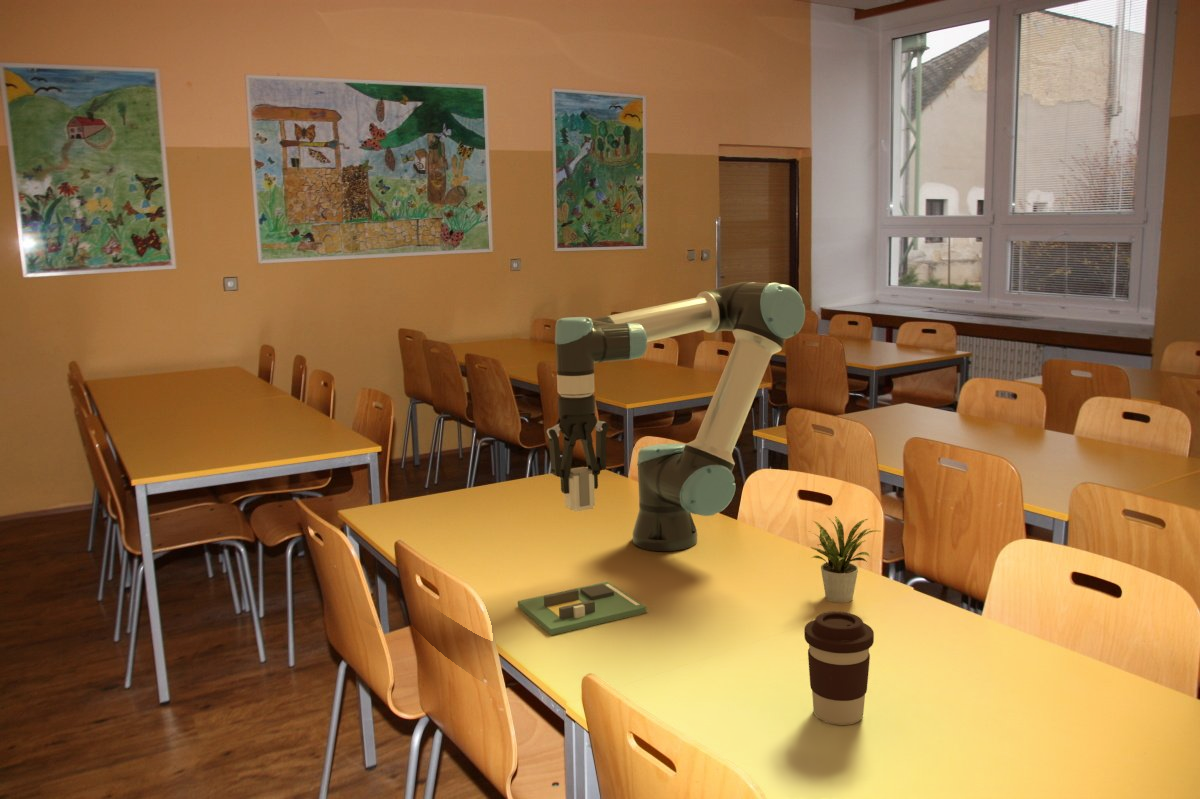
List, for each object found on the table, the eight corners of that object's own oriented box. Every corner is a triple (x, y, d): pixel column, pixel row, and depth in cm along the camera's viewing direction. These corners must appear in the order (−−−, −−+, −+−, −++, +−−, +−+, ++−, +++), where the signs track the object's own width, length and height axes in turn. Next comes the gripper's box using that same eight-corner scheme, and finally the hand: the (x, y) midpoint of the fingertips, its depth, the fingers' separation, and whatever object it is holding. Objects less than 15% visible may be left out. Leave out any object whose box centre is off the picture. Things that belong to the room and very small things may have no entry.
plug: (584, 504, 203) (583, 466, 202) (594, 509, 199) (593, 471, 198) (567, 506, 201) (565, 469, 200) (576, 512, 197) (575, 473, 196)
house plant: (889, 589, 194) (890, 510, 191) (877, 615, 181) (879, 531, 178) (817, 581, 200) (817, 504, 197) (801, 605, 187) (801, 523, 184)
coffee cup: (796, 701, 150) (796, 609, 147) (859, 696, 151) (860, 604, 148) (815, 733, 140) (816, 635, 138) (882, 728, 141) (884, 630, 138)
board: (607, 587, 200) (607, 572, 200) (646, 612, 186) (646, 596, 186) (517, 606, 192) (517, 591, 191) (551, 635, 178) (550, 618, 177)
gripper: (605, 387, 203) (608, 496, 207) (529, 396, 196) (534, 508, 200) (622, 392, 197) (625, 504, 201) (544, 401, 189) (549, 517, 193)
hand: (580, 506), depth 200 cm, fingers closed on plug, 4 cm apart
